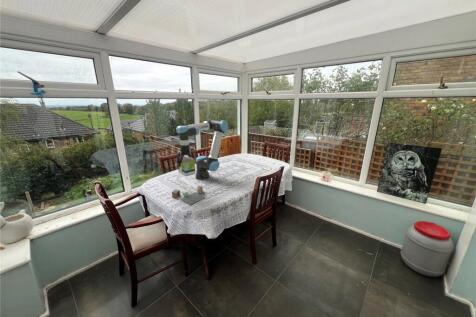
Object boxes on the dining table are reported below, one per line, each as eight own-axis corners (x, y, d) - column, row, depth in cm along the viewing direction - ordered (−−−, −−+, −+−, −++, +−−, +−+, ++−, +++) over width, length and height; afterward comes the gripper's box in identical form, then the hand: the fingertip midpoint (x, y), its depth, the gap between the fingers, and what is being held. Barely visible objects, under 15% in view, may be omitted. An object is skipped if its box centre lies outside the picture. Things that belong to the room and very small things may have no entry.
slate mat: (195, 192, 171) (195, 191, 171) (205, 197, 163) (205, 197, 162) (180, 199, 160) (180, 198, 159) (190, 205, 151) (190, 204, 151)
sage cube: (187, 193, 169) (186, 190, 168) (188, 195, 166) (188, 191, 164) (182, 195, 167) (182, 191, 165) (184, 197, 164) (183, 193, 162)
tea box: (196, 174, 164) (194, 158, 159) (185, 177, 158) (184, 160, 153) (188, 169, 175) (186, 154, 170) (177, 172, 168) (176, 156, 164)
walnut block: (175, 194, 168) (175, 189, 167) (180, 195, 167) (179, 190, 165) (172, 196, 164) (171, 191, 162) (176, 197, 162) (176, 192, 161)
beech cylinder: (200, 190, 175) (200, 184, 173) (204, 192, 172) (203, 186, 170) (196, 192, 171) (195, 186, 169) (199, 194, 168) (199, 188, 166)
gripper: (193, 141, 168) (194, 164, 175) (169, 145, 152) (172, 170, 159) (198, 143, 164) (199, 166, 170) (174, 147, 148) (177, 173, 154)
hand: (186, 168), depth 165 cm, fingers closed on tea box, 10 cm apart
